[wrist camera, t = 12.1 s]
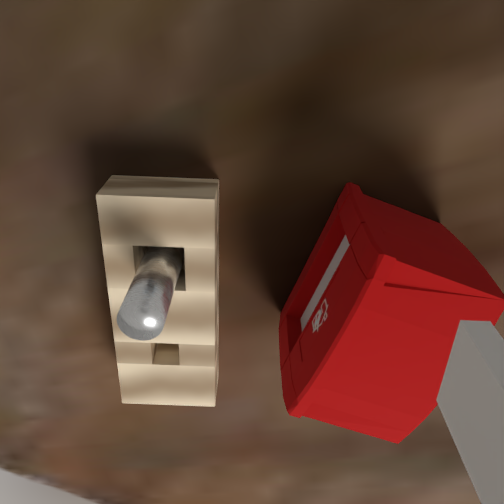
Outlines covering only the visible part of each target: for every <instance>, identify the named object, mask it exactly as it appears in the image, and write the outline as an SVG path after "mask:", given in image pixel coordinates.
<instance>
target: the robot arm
mask: <svg viewBox="0 0 504 504" xmlns="http://www.w3.org/2000/svg"><path fill="white" fill-rule="evenodd" d="M436 401H437V403H438V405H439V408H440V410H441V412H442V415H443V417H444V419H445V421H446V424H447V426H448V428H449V431H450V433H451V435H452V438H453V440H454V442H455V444H456V447H457V449H458V451H459V454H460V456H461V458H462V461H463V463H464V465H465V467H466V470H467V472H468V474H469V477H470V479H471V481H472V483H473V486H474V488H475V490H476V493H477V495H478V497H479V500H480V502H481V504H504V340H503V338H502V337H501V336H500V334H499V333H498V331H497V330H496V328H495V327H494V326H493V324H492V323H491V321H470V320H460V322H459V326H458V329H457V332H456V336H455V339H454V342H453V346H452V349H451V353H450V356H449V359H448V363H447V366H446V369H445V373H444V376H443V379H442V383H441V386H440V389H439V393H438V396H437V399H436Z"/></svg>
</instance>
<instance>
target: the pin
mask: <svg viewBox="0 0 504 504" xmlns="http://www.w3.org/2000/svg"><path fill="white" fill-rule="evenodd" d="M184 256H185V254H184V247H158V246H148V247H147V250H146V252H145V254H144V256H143V258H142V261H141V263H140V265H139V267H138V270H137V272H136V274H135V276H134V278H133V281H132V283H131V285H130V287H129V289H128V292H127V294H126V296H125V298H124V300H123V303H122V305H121V307H120V309H119V311H118V314H117V324H118V327H119V329H120V330H121V331H122V332H123V333H124V334H125V335H126V336H128V337H130V338H132V339H135V340H141V341H145V340H151V339H154V338H155V337H157V336H158V335H159V334H160V333H161V332H162V330H163V328H164V324H165V321H166V317H167V314H168V311H169V307H170V304H171V300H172V297H173V294H174V290H175V287H176V283H177V280H178V277H179V273H180V270H181V266H182V263H183V260H184Z"/></svg>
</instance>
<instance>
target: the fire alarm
mask: <svg viewBox="0 0 504 504" xmlns="http://www.w3.org/2000/svg"><path fill="white" fill-rule="evenodd" d="M503 310H504V294H503V293H502V291H501V290H500V288H499V287H498V286H497V284H496V283H495V282H494V280H493V279H492V278H491V276H490V275H489V274H488V272H487V271H486V269H485V268H484V267H483V266H482V265H481V264H480V263H479V261H478V260H477V259H476V258H475V257H474V256H473V255H472V253H471V252H470V251H469V250H468V249H467V248H466V247H465V246H464V245H463V244H462V243H461V242H460V241H459V240H458V239H457V238H456V237H455V236H454V235H453V234H452V233H451V232H450V231H449V230H447V229H446V228H445V227H444V226H443V225H442V224H441V223H438V222H436V221H433V220H430V219H428V218H425V217H422V216H420V215H417V214H415V213H412V212H409V211H407V210H404V209H402V208H399V207H396V206H394V205H391V204H388V203H386V202H383V201H381V200H378V199H375V198H373V197H370V196H367V195H365V194H363V193H362V191H361V189H360V187H359V185H356V184H353V183H351V182H349V183H346V185H345V187H344V189H343V191H342V192H341V194H340V196H339V198H338V200H337V202H336V204H335V206H334V208H333V210H332V212H331V215H330V217H329V219H328V221H327V223H326V225H325V227H324V229H323V231H322V233H321V235H320V237H319V239H318V241H317V242H316V244H315V246H314V248H313V250H312V252H311V254H310V256H309V258H308V260H307V262H306V264H305V266H304V268H303V270H302V272H301V274H300V276H299V278H298V280H297V282H296V284H295V286H294V288H293V290H292V292H291V294H290V295H289V297H288V300H287V301H286V303H285V305H284V307H283V309H282V311H281V315H280V323H279V349H280V367H281V376H282V389H283V398H284V402H285V405H286V409H287V412H288V413H289V415H291V416H295V417H298V418H300V417H301V416H305V417H309V418H312V419H316V420H319V421H322V422H326V423H329V424H333V425H336V426H339V427H343V428H346V429H350V430H353V431H356V432H360V433H363V434H367V435H370V436H374V437H377V438H380V439H384V440H387V441H391V442H394V443H397V444H398V443H399V442H401V441H402V440H403V439H404V438H405V437H406V436H407V435H408V434H410V433H411V432H412V431H413V430H414V429H415V428H416V427H417V426H418V425H419V424H420V423H421V422H422V421H423V420H424V419H425V418H426V417H427V416H428V415H429V414H430V413H431V411H432V410H433V409H434V408H435V407H436V406H437V405H438V403H437V401H436V399H437V396H438V393H439V389H440V386H441V383H442V379H443V376H444V373H445V369H446V366H447V363H448V359H449V356H450V353H451V349H452V346H453V342H454V339H455V336H456V332H457V329H458V326H459V322H460V320H470V321H491V323H492V324H493V326H494V325H495V324H496V322H497V320H498V319H499V317H500V315H501V313H502V312H503Z"/></svg>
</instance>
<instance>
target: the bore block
mask: <svg viewBox="0 0 504 504" xmlns="http://www.w3.org/2000/svg"><path fill="white" fill-rule="evenodd" d="M96 201H97V208H98V216H99V224H100V232H101V240H102V248H103V256H104V263H105V271H106V279H107V287H108V295H109V303H110V311H111V318H112V326H113V334H114V342H115V350H116V358H117V366H118V373H119V381H120V389H121V397H122V403H134V404H160V405H187V406H213V407H215V401H216V392H217V383H218V363H219V179H200V178H174V177H149V176H124V175H112V176H111V177H110V178H109V179H108V181H107V182H106V183H105V184H104V185H103V187H102V188H101V189H100V190H99V191H98V193H97V194H96ZM148 246H158V247H184V254H185V256H184V260H183V263H182V266H181V270H180V273H179V277H178V280H177V283H176V287H175V290H174V294H173V297H172V300H171V304H170V307H169V311H168V314H167V317H166V321H165V324H164V328H163V330H162V332H161V333H160V334H159V335H158V336H157V337H155V338H154V339H151V340H145V341H141V340H135V339H132V338H130V337H128V336H126V335H125V334H124V333H123V332H122V331H121V330H120V329H119V327H118V324H117V314H118V311H119V309H120V307H121V305H122V303H123V300H124V298H125V296H126V294H127V292H128V289H129V287H130V285H131V283H132V281H133V278H134V276H135V274H136V272H137V270H138V267H139V265H140V263H141V261H142V258H143V256H144V254H145V252H146V250H147V247H148Z"/></svg>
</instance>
